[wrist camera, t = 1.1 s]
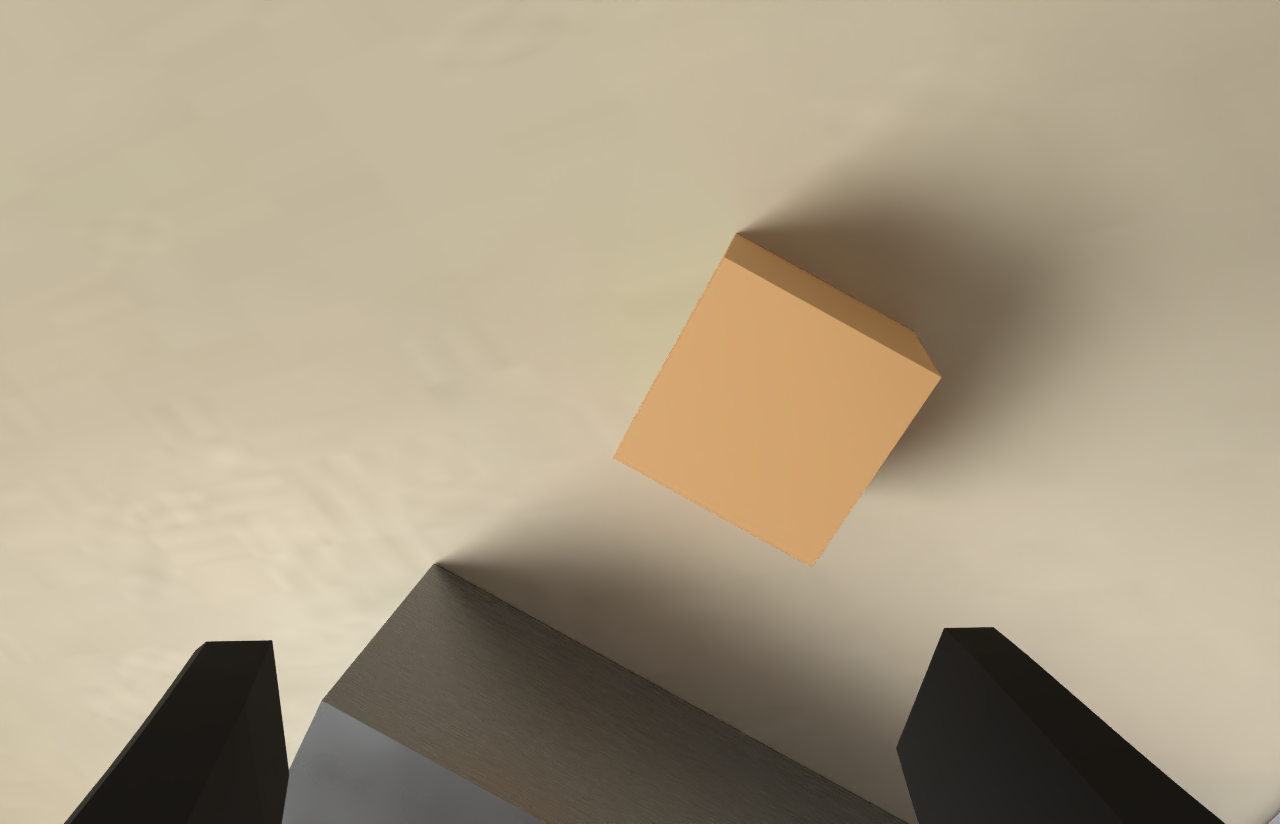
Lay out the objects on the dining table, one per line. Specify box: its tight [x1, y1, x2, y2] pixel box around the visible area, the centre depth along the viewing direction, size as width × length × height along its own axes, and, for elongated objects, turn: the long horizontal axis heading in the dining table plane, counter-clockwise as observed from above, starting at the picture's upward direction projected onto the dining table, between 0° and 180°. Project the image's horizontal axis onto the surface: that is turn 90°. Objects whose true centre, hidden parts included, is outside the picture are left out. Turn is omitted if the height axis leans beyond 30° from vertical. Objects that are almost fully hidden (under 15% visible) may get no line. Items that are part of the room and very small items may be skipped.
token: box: [613, 233, 941, 567], centre depth 19 cm, size 4×4×4 cm
